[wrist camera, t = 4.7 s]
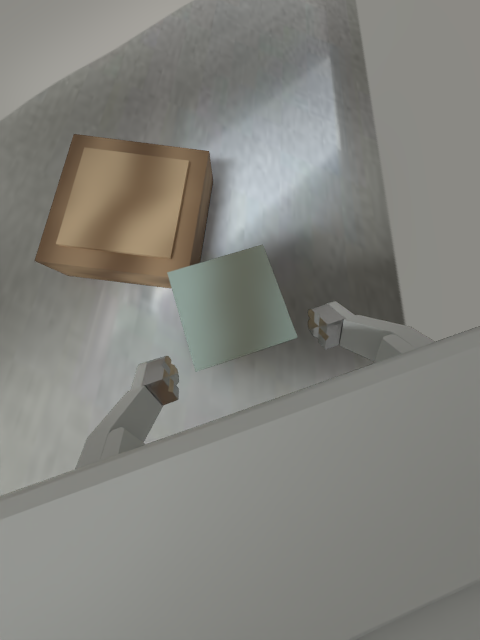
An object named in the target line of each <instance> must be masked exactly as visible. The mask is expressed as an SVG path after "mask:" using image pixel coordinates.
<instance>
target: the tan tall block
mask: <svg viewBox="0 0 480 640" xmlns="http://www.w3.org/2000/svg"><path fill="white" fill-rule="evenodd" d="M167 274H168V277H169V281H170V284H171V287H172V291H173V294H174V298H175V301H176V305H177V308H178V312H179V315H180V319H181V322H182V326H183V329H184V333H185V336H186V340H187V343H188V347H189V350H190V354H191V357H192V361H193V364H194V368H195V371H196V372H197V371H200V370H203V369H206V368H209V367H212V366H215V365H218V364H221V363H224V362H227V361H230V360H233V359H236V358H239V357H242V356H245V355H248V354H251V353H253V352H256V351H259V350H262V349H265V348H268V347H271V346H274V345H277V344H280V343H283V342H286V341H289V340H292V339H295V338H298V337H297V335H296V332H295V329H294V327H293V324H292V321H291V319H290V316H289V313H288V310H287V308H286V305H285V302H284V300H283V297H282V294H281V292H280V289H279V286H278V284H277V281H276V278H275V276H274V273H273V270H272V268H271V265H270V262H269V260H268V257H267V254H266V251H265V249H264V246H263V244H262V245H259V246H256V247H252V248H249V249H245V250H242V251H239V252H235V253H232V254H228V255H225V256H222V257H218V258H215V259H212V260H208V261H205V262H201V263H198V264H195V265H191V266H188V267H184V268H181V269H178V270H174V271H171V272H167Z"/></svg>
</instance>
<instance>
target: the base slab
mask: <svg viewBox="0 0 480 640" xmlns="http://www.w3.org/2000/svg"><path fill="white" fill-rule="evenodd" d="M212 185H213V177H212V169H211V162H210V154H209V151H204V150H196V149H188V148H180V147H172V146H164V145H156V144H148V143H141V142H133V141H125V140H117V139H109V138H101V137H93V136H86V135H78V134H74V135H73V138H72V142H71V145H70V148H69V151H68V155H67V158H66V161H65V164H64V167H63V171H62V174H61V177H60V180H59V184H58V187H57V190H56V193H55V196H54V200H53V203H52V206H51V209H50V213H49V216H48V219H47V222H46V225H45V229H44V232H43V235H42V238H41V242H40V245H39V248H38V251H37V254H36V258H35V261H36V262H38V263H41V264H43V265H45V266H47V267H50V268H52V269H54V270H57V271H59V272H61V273H63V274H66V275H68V276H75V277H83V278H92V279H100V280H108V281H116V282H124V283H132V284H141V285H149V286H157V287H165V288H172V287H171V284H170V281H169V277H168V274H167V272H171V271H174V270H178V269H181V268H184V267H188V266H191V265H195V264H198V263H200V258H201V252H202V246H203V240H204V234H205V228H206V221H207V215H208V209H209V203H210V197H211V191H212Z"/></svg>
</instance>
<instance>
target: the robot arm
mask: <svg viewBox="0 0 480 640" xmlns="http://www.w3.org/2000/svg"><path fill="white" fill-rule="evenodd" d="M308 316H309V317H310V319H309V321H308V328H309V331H310V332H311V334H312V335H313V336H314V337H316V338H318V342H319V343H320V344H321V345H322V347H323V348H324V349H328V348H331V347H335V346H338V345H340V346H341V347H343V348H346V349H348V350H350V351H352V352H354V353H356V354H359V355H361V356H363V357H365V358H367V359H369V360H372V361H374V364H371V365H368V366H366V367H363V368H360V369H357V370H354V371H351V372H349V373H346V374H343V375H340V376H337V377H335V378H332V379H329V380H326V381H323V382H320V383H318V384H315V385H312V386H309V387H306V388H304V389H301V390H298V391H295V392H292V393H290V394H287V395H284V396H281V397H278V398H275V399H273V400H270V401H267V402H264V403H261V404H258V405H256V406H253V407H250V408H247V409H244V410H242V411H239V412H236V413H233V414H230V415H227V416H225V417H222V418H219V419H216V420H213V421H210V422H208V423H205V424H202V425H199V426H196V427H194V428H191V429H188V430H185V431H182V432H179V433H177V434H174V435H171V436H168V437H165V438H162V439H160V440H157V441H154V442H151V443H148V444H144V443H143V442H144V441H145V439H146V437H147V435H148V433H149V431H150V429H151V428H152V426H153V424H154V422H155V420H156V418H157V416H158V415H159V413H160V411H161V409H162V407H163V405H165V404H168V403H171V402H173V401H176V400H178V397H179V388H178V387H177V384H178V382H179V375H178V371H177V368H176V367H175V365H172V364H171V359H170V358H169V356H164V357H160V358H157V359H154V360H150V361H148V362H144V363H141V364H139V365H138V366H137V369H136V372H135V376H134V380H133V383H132V387H131V390H130V391H127V393H126V394H125V395H124V396H123V397H122V398H121V400H120V401H119V402H118V403H117V404H116V405H115V406H114V408H113V409H112V410H111V411H110V412H109V413H108V415H107V416H106V417H105V418H104V419H103V420H102V422H101V423H100V424H99V425H98V426H97V427H96V428H95V430H94V431H93V432H92V433H91V434H90V435H89V437H88V438H87V440H86V443H85V445H84V448H83V450H82V453H81V455H80V458H79V461H78V463H77V466H76V468H75V470H72V471H69V472H67V473H64V474H61V475H58V476H55V477H52V478H50V479H47V480H44V481H41V482H38V483H36V484H33V485H30V486H27V487H24V488H21V489H19V490H16V491H13V492H10V493H7V494H5V495H2V496H0V640H480V326H479V327H476V328H473V329H470V330H467V331H464V332H461V333H459V334H456V335H453V336H450V337H447V338H445V339H442V340H439V341H436V342H435V341H433V340H432V339H430V338H428V337H427V336H425V335H423V334H422V333H420V332H419V331H417V330H415V329H414V328H412V327H410V326H405V325H401V324H397V323H392V322H388V321H384V320H379V319H375V318H370V317H366V316H362V315H354V314H353V313H351V312H350V311H349V310H347V309H346V308H344V307H343V306H342V305H340V304H339V303H338V302H336V301H332V302H329V303H327V304H324V305H321V306H318V307H315V308H312V309H309V311H308Z"/></svg>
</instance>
